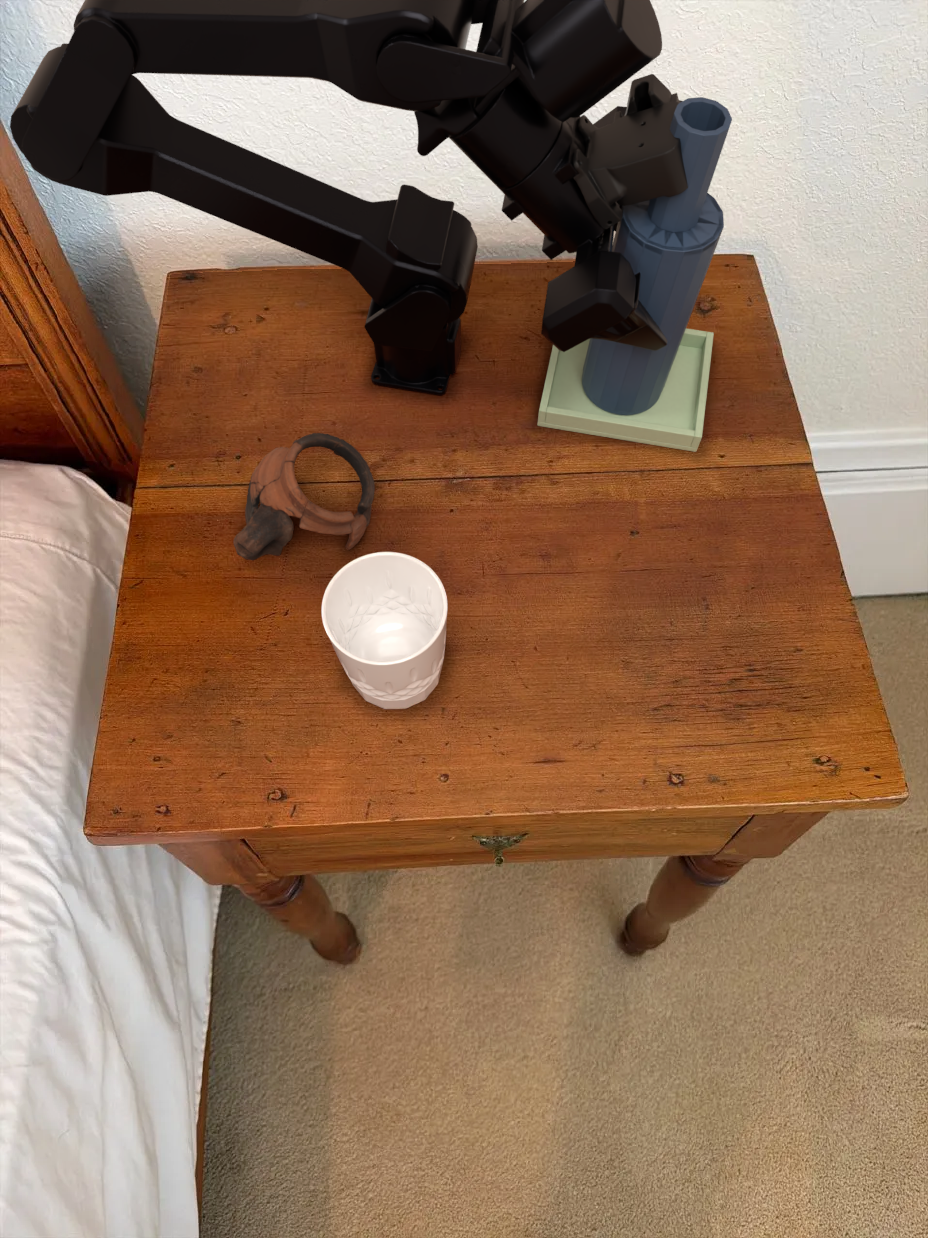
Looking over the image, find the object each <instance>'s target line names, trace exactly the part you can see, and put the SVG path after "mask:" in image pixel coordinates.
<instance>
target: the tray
mask: <svg viewBox="0 0 928 1238" xmlns="http://www.w3.org/2000/svg"><path fill="white" fill-rule="evenodd" d="M714 334H715V332H713V331H706V330H700V329H699V330H698V329H693V328H687V327H686V330H685V332H684V335H683V338H682V340H681V343H680V346H679V348H678V351H677V354H676V356H675V359H674V362H673V364H672V367H671V370H670V373H669V375H668V378H667V381H666V383H665V386H664V389H663V391H662V393H661V395H660V397H659V399H658V401H657V402H656V403H655V404H654V405H653V406H652V407H651V408H650V409H648V410H646V411H644V412H642V413H639V414H634V415H618V414H613V413H610V412H607V411H605V410H603V409H601V408H599V407H598V406H596V405H595V404H594V403H593V402H592V401H591V400H590V399H589V398H588V396H587V395H586V393H585V391H584V389H583V385H582V374H583V367H584V362H585V358H586V354H587V350H588V346H589V342H590V339H588V340H586V341H584V342H582V343H580V344H578V345H577V346H575V347H573V348H571V349H569V350H567V351H565V352H563V351H561V350H559V349H558V348H556V347H555V346H554V345H553V344H552V347H551V348H552V349H551V353H550V357H549V361H548V365H547V371H546V376H545V380H544V384H543V385H544V386H543V390H542V394H541V399H540V404H539V409H538V415H537V416H538V417H537V423H536V424H537V426H538V427H542V428H549V429H556V430H560V431H566V432H572V433H573V432H574V433H579V434H585V435H592V436H597V437H602V438H603V437H604V438H608V439H609V438H610V439H614V440H615V439H616V440H621V441H627V442H633V443H640V444H645V445H651V446H657V447H663V448H668V449H669V448H670V449H675V450H680V451H682V450H683V451H688V452H692V453H693V452H694V453H697V451H698V449H699V446H700V443H701V441H702V438H703V431H704V423H705V413H706V405H707V397H708V388H709V379H710V370H711V361H712V353H713V344H714Z"/></svg>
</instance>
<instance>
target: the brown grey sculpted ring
mask: <svg viewBox="0 0 928 1238" xmlns="http://www.w3.org/2000/svg"><path fill="white" fill-rule="evenodd" d="M318 447H319V448H323V449H328V450H330V451H332V452H333V454H334V455H336V456H338V457H341V458H342V459H343V460H345V461H346V462H347V463H348V464H349V465H350V466H351V467H352V468H353V470H354V472H355V473H356V475H357V477H358V479H359V482H360V483H359V484H360V486H361V496H360V500H359V502H358V504H357V506H356V507H357V509H356V510H357V511H356V512H355V513H353V512H352V511H350V510H347V511H332V510H329V509H325V508H323V507H321V506H319V505H318V504H317V503H314V502H313V501H312V500H309V498H308V497H307V496H306V494H305V493H304V492H303V490H302V488H301V487H300V485H299V483H298V481H297V477H296V474H295V464H296V460H297V458H298V456H299V454H301V453H302V451H304V450H306V449H309V448H318ZM375 491H376V487H375V479H374V477H373V473H372V471H371V467H370V466H369V464H368V462H367V460H365V458H364V457H363V456H362V453H361V452H360V451H358V450H357V449H356V448H355V447H354V446H353V445H352V444H351V443H349V442H348V441H346V440H345V439H342V438H339V437H338V436H334V435H331V434H329V433H322V432H313V433H310V434H306V435H303V436H302V437H299V438H297V439H296V440H294V441H293V442H292V445H290V447H287V446H286V447H285V446H280V447H275V448H273V449H272V450H270V451H269V452H268V453H266V454H265V455H264V457H262V459H261V460H260V461H259V462H258V464H257V465H256V466H255V467H254V470H253V472H252V474H251V476H250V480H249V484H248V488H247V495H246V504H245V509H244V517H245V518H244V519H245V524H246V525H245V526H244V527H243V528H242V529H241V530H240V531H239V532H238V533H237V534H236V535H235V536H234V538H233V546H234V549H235V551H236V554H237V555H238V556H239V557H242V558H243V559H244V560H248V561H255V560H257V559H260V558H261V557H263V556H266V555H270V556H275V557H280V556H281V555H282V551H283V549H284V547H286V546H287V544H288V542H290V541H291V540H292V538H293V535H294V522H293V520H292V518H290V517H294V518H297V519H299V524H298V527H299V528H300V529H302V530H307V531H310V532H315V533H318V534H321V535H324V534H325V535H333V536H344V535H348V539H347V541H346V544H345V546H344V547H345V549H346V550H348V551H350V550H352V549H353V548H354V547H355V546H356V545H357V544H358V543H359V542H360V541H361V539H362V537H363V536H364V535H365V532H366V529H367V528H368V527H369V525H370V523H371V518H372V517H371V516H372V507H373V503H374V498H375Z"/></svg>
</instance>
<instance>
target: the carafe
mask: <svg viewBox="0 0 928 1238" xmlns="http://www.w3.org/2000/svg"><path fill="white" fill-rule="evenodd" d="M681 101H682V102H681V103H679V104H678V105H677V107H676V109H675V112H674V115H673V118H672V122H671V126H670V131H671V133H672V134H673V136H674V137H676V138H680V142H681V151H682V158H683V163H684V168H685V174H686V179H687V184H688V188H687V189H686V190H685V191H684V192H682V193H680V194H678V195H676V196H672V197H666V196H662V197H658V198H655V199H651V200H647V201H644V202H640V203H636V204H633V205H628V206H622V208H621V210H622V217H621V221H619V222H618V225H617V229H616V232H614V237H613V245H612V252H620V253H621V254H622V255H623V256H624V257H625V258H626V259H627V260H628V261H629V262H630V264H631V267H632V269H633V272H634V275H635V274H637V273H639V272H640V273H641V279H640V289H639V301H640V302H641V303H642V305H643V306H644V307H645V309H646V310H647V312H648V313H649V314H650V316H651V317H652V318H653V320H654V321H655V322H656V324H657V325H658V327H659V328H660V329H661V331H662V333H663V334H664V336H665V338H666V339H667V345H666V346H665V347H663V348H661V349H659V350H656V351H653V350H649V349H644V348H640V347H635V346H631V345H627V344H622V343H618V342H613V341H608V340H601V339H591V338H590V342H589V346H588V350H587V354H586V358H585V362H584V367H583V374H582V385H583V389H584V391H585V393H586V395H587V396H588V398H589V399H590V400H591V401H592V402H593V403H594V404H595V405H596V406H598V407H599V408H601V409H603V410H605V411H607V412H610V413H613V414H618V415H634V414H639V413H642V412H644V411H646V410H648V409H650V408H651V407H652V406H653V405H654V404H655V403H656V402H657V401H658V399H659V397H660V395H661V393H662V391H663V389H664V386H665V383H666V381H667V378H668V375H669V373H670V370H671V367H672V364H673V362H674V359H675V356H676V354H677V351H678V348H679V346H680V343H681V340H682V338H683V335H684V332H685V330H686V328H687V327H688V324H689V321H690V318H691V316H692V313H693V311H694V308H695V305H696V303H697V300H698V297H699V294H700V292H701V289H702V286H703V284H704V281H705V278H706V276H707V273H708V270H709V268H710V266H711V262H712V260H713V257H714V254H715V252H716V249H717V246H718V244H719V241H720V238H721V235H722V232H723V230H724V227H725V222H724V211H723V209H722V207H721V206H720V204H719V203H718V201H717V199H716V198H715V197H714V196H713V195H711V194H710V193H709V189H710V186H711V183H712V181H713V177H714V175H715V171H716V168H717V166H718V163H719V159H720V156H721V154H722V151H723V148H724V145H725V142H726V139H727V136H728V133H729V130H730V127H731V124H732V121H733V118H732V114H731V113H730V111H729V109H728V108H727V107H726V106H724V105H723V104H722V103H720V102H719V101H717V100H714V99H712V98H711V99H710V98H707V97H704V96H703V97H702V96H700V97H699V96H698V97H688V98H686V99H684V100H681Z"/></svg>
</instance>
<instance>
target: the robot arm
mask: <svg viewBox="0 0 928 1238" xmlns="http://www.w3.org/2000/svg"><path fill="white" fill-rule="evenodd" d="M478 24H481V28H480V34H479V37H478V42H477V45H476V51H474V50H470V49H467V44H468V40H469V35H470V31H471V26H472V25H478ZM662 51H663V37H662V31H661V27H660V22H659V20H658V17H657V14H656V11H655V9H654V7H653V4H652V1H651V0H84V1H83V3H82V4H81V6H80V9H79V10H78V11H77V14H76V15H75V19H74V22H73V33H72V35H71V37H70V40H69V41H68V43H64V42H63V43H62V44H61V45H60V46H57V47H55V48H51V49H49V50H48V51H47V53H46V54H45V55H44V57H43V58H42V60H41V61H40V63H39V65H38V67H37V69H36V70H35V72H34V74H33V76H32V77H31V80H30V82H29V83H28V85H27V87H26V89H25V90H24V92H23V94H22V95H21V97H20V99H19V101H18V103H17V105H16V106H15V109H14V111H13V112H12V114H11V116H10V122H9V129H10V132H11V136H12V139H13V141H14V142H15V145H16V146H17V148H18V149H19V151H20V152H21V153H22V155H24V158H25V159H26V160H27V162H28V163H29V164H30V167H31V168H32V169H33V170H34V171H35V172H37V173H38V174H39V175H40V176H43V178H46V179H48V180H50V181H52V182H54V183H57V184H59V185H64V186H66V187H70V188H75V189H79V190H81V191H85V192H89V193H92V194H93V193H94V194H97V195H101V196H106V197H109V196H118V195H120V196H121V195H127V194H129V195H130V194H140V193H147V192H149V193H155V194H158V195H161V196H164V197H167V198H169V199H170V200H173V201H176V202H178V203H180V204H184V205H186V206H188V207H191V208H193V209H196V210H199V211H200V212H204V213H206V214H208V215H211V216H213V217H216V218H218V219H220V220H223V221H225V222H228V223H230V224H233V225H235V226H237V227H239V228H240V227H241V228H243V229H245V230H247V231H250V232H253V233H255V234H257V235H260V236H262V237H265V238H268V239H270V240H272V241H274V242H277V243H279V244H282V245H285V246H286V247H289V248H292V249H294V250H297V251H299V252H302V253H305V254H307V255H310V256H312V257H315V258H317V259H319V260H321V261H324V262H326V263H330V264H332V265H334V266H336V267H339V268H341V269H343V270H345V271H347V272H349V273H350V274H351V276H352V277H353V278H354V279H355V281H357V283H358V284H359V285H360V286H361V288H362V289H363V290H364V291H365V292H366V293H367V294H368V296H369V297H370V298H371V299H370V302H369V307H368V311H367V315H366V318H365V322H364V330H365V332H366V333H367V334H368V336H369V338H370V339H371V341H372V343H373V349H374V356H375V363H374V366H373V369H372V372H371V375H370V380H371V383H372V384H373V385H376V386H381V387H388V388H393V389H399V390H400V389H401V390H407V391H411V392H416V393H417V392H419V393H424V394H431V395H436V396H443V395H445V394H446V392H447V390H448V386H449V382H450V378H451V376H453V375H455V374H456V372H457V368H458V365H459V361H460V357H461V354H462V319H461V316H462V315H463V314H464V313H465V311H466V308H467V304H468V299H469V295H470V291H471V290H470V289H471V284H472V279H473V273H474V268H475V263H476V258H477V253H478V249H479V248H478V246H479V245H478V237H477V234H476V233H475V230H474V229H473V227H472V222H471V221H470V220H469V219H468V218H467V217H466V216H465V215H463V214H462V213H460V212H459V211H457V210H454V208H455V201H453V200H443V199H440V198H436V197H433V196H431V195H429V194H427V193H426V192H424V191H422V190H420V189H419V188H417V187H416V186H414V185H411V184H410V185H409V184H402V185H401V186H400V187H399V191H398V195H397V199H388V200H378V201H369V200H366V199H363V198H361V197H358V196H356V195H354V194H351V193H349V192H346V191H344V190H342V189H339V188H337V187H336V186H333V185H330V184H328V183H326V182H324V181H321V180H318V179H316V178H314V177H312V176H310V175H307V174H305V173H302V172H300V171H298V170H295V169H293V168H290V167H288V166H286V165H284V164H281V163H279V162H277V161H275V160H272V159H271V158H267V157H265V156H263V155H261V154H258V153H256V152H254V151H251V150H250V149H247V148H244V147H243V146H240V145H238V144H236V143H232V142H230V141H228V140H226V139H223V138H221V137H219V136H217V135H214V134H212V133H210V132H208V131H205V130H203V129H200V128H198V127H196V126H194V125H191V124H190V123H186V122H184V121H182V120H179V119H178V118H176V117H174V116H172V115H171V114H170V113H169V112H168V111H167V110H166V109H165V108H164V107H163V106H162V104H161V103H160V102H159V101H158V100H157V99H156V97H155V96H154V95H153V94H152V93H151V92H150V90H149V89H148V88H147V87H146V85H144V83H143V82H142V81H141V80H140V79H139V78H137V76H135V75H136V74H157V75H158V74H159V75H160V74H162V75H193V76H194V75H195V76H228V77H229V76H230V77H232V76H233V77H260V78H261V77H262V78H266V77H267V78H268V77H269V78H297V79H299V78H300V79H314V80H318V81H323V82H328V83H331V84H332V85H334V86H336V87H337V88H339V89H340V90H342V91H343V92H345V93H347V94H348V95H350V96H351V97H353V98H355V99H356V100H358V101H360V102H362V103H368V104H372V105H378V106H383V107H388V108H393V109H398V110H403V111H410V112H414V116H415V119H416V124H417V125H416V126H417V148H416V151H417V153H418V155H420V156H422V157H426V156H428V155H429V154H430V153H432V152H433V151H434V150H435V149H436V148H437V147H439V146H440V145H441V144H443V143H444V141H446V140H447V139H449V140H450V141H451V142H452V143H453V144H454V145H455V146H456V147H457V148H458V150H460V151H461V152H462V153H463V154H464V155H465V156H466V157H467V158H468V159H469V160H470V161H471V162H472V164H474V165H475V166H476V167H477V168H478V169H479V171H481V172H482V174H484V175H485V177H487V178H488V179H489V180H490V181H491V182H492V183H493V184H494V185H495V186H496V187H497V189H499V190H500V192H501V193H503V195H504V196H503V201H502V205H501V206H502V207H501V212H502V213H503V214H504V215H505V216H506V217H507V218H508V219H509V220H510V221H513V220H515V219H517V218H518V217H520V216H521V215H522V214H523V215H524V216H525V217H526V218H527V219H528V220H529V221H530V222H531V223H532V224H533V225H534V227H536V228H537V229H538V231H540V232H541V233H542V234H543V241H542V247H541V252H542V253H543V254H544V255H545V256H546V257H547V258H548V259H549V260H551V261H552V260H554V259H555V258H557V257H558V256H560V255H562V254H563V253H564V252H567V254H574V253H575V259H574V266H572V267H571V268H569V269H568V270H566V271H564V272H563V273H561V274H559V275H558V276H556V277H554V278H553V279H551V280H549V281H548V282H547V287H546V288H547V289H546V295H545V300H544V301H545V302H544V309H543V314H542V320H541V321H542V322H541V330H540V331H541V332H540V334H541V335H542V336H543V337H544V338H545V339H546V340H548V342H549V343H550V344H552V346H553V345H554V346H555V347H556V348H558V349H559V350H561V351H563V352H565V351H567V350H569V349H571V348H573V347H575V346H577V345H578V344H580V343H582V342H584V341H586V340H588V339H590V338H591V339H601V340H608V341H613V342H618V343H622V344H627V345H631V346H635V347H640V348H644V349H649V350H653V351H656V350H659V349H661V348H663V347H665V346H666V345H667V339H666V338H665V336H664V334H663V333H662V331H661V329H660V328H659V327H658V325H657V324H656V322H655V321H654V320H653V318H652V317H651V316H650V314H649V313H648V312H647V310H646V309H645V307H644V306H643V305H642V303H641V302H640V301H639V289H640V279H641V273H640V272H639V273H637V274H635V275H634V272H633V269H632V267H631V264H630V262H629V261H628V260H627V259H626V258H625V257H624V256H623V255H622V254H621V253H620V252H612V246H613V241H614V237H615V233H616V229H617V225H618V222H619V221H621V217H622V210H621V208H622V206H628V205H633V204H636V203H640V202H644V201H647V200H651V199H655V198H658V197H662V196H666V197H672V196H676V195H678V194H680V193H682V192H684V191H685V190H686V189H687V188H688V184H687V179H686V174H685V168H684V163H683V158H682V151H681V142H680V138H676V137H674V136H673V134H672V133H671V131H670V126H671V122H672V118H673V115H674V112H675V109H676V107H677V105H678V104H679V103H681V102H682V101H683V100H681V99H679V96H678V95H679V94H678V93H677V92H675V93H672V92H671V90H670V89H669V88H668V87H667V86H666V85H665V84H664V83H663V82H662V81H661V80H660V79H659V78H658V77H657V76H656V74H654V73H651V74H647V75H644V76H641V77H639V78H635V79H633V80H632V81H631V85H630V88H629V93H628V97H627V103H626V106H621V105H617V106H616V107H615V108H613V109H611V110H610V111H609V112H608V113H606V114H605V115H603V116H602V117H601V118H599V119H598V120H597V121H595V122H594V123H593V122H592V121H591V120H590V119H589V118H588V117H587V116H586V115H585V113H586V112H587V111H588V110H590V109H591V108H593V107H594V106H595V105H597V104H598V103H599V102H600V101H602V100H603V99H605V98H606V97H607V96H608V95H610V94H611V93H612V92H614V91H615V90H616V89H617V88H619V87H620V86H622V84H624V83H625V82H626V81H628V80H629V79H630V78H631V77H633V76H634V75H636V74H637V73H638V72H640V71H641V70H642V69H644V68H645V67H646V66H648V65H649V64H650V63H651V62H653V61H654V60H656V59H657V58H658V57H659V56H660V55H661V53H662Z"/></svg>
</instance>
